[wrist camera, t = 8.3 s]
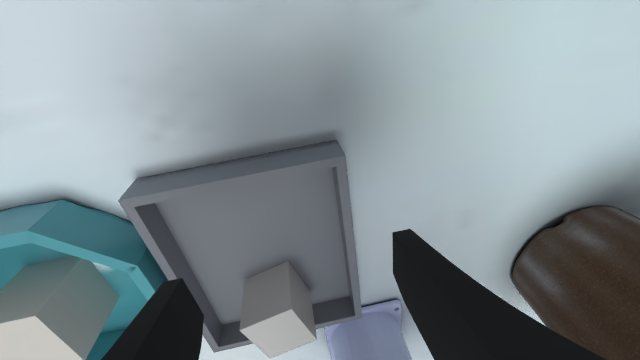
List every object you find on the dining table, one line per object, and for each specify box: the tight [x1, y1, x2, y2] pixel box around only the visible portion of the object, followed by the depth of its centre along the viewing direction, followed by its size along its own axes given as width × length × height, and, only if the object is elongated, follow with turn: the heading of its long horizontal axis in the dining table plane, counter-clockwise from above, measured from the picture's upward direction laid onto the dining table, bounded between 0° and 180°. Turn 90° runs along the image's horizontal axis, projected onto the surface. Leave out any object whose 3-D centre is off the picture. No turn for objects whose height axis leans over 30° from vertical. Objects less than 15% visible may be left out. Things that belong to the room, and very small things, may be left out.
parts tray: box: [118, 140, 362, 352], centre depth 22 cm, size 16×13×2 cm
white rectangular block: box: [0, 256, 119, 360], centre depth 19 cm, size 5×4×5 cm
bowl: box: [0, 200, 168, 360], centre depth 20 cm, size 14×14×3 cm
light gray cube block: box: [239, 261, 317, 358], centre depth 22 cm, size 4×4×4 cm
